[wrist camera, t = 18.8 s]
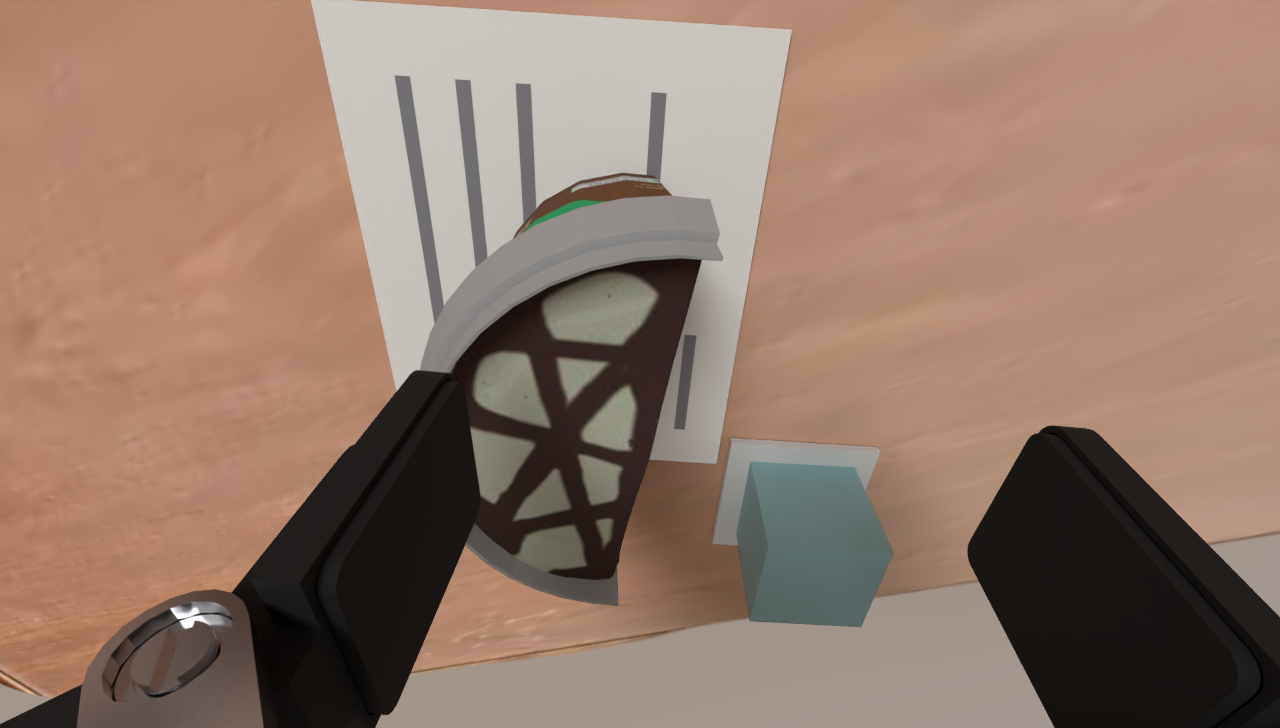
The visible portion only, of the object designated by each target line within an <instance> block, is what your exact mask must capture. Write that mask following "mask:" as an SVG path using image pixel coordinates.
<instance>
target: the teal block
mask: <svg viewBox="0 0 1280 728" xmlns="http://www.w3.org/2000/svg"><path fill="white" fill-rule="evenodd" d="M736 535H737V542H738V548H739V555H740V561H741V568H742V574H743V581H744V587H745V594H746V600H747V607H748V613H749V619H750V621H757V622H776V623H794V624H813V625H814V624H815V625H832V626H850V627H861V626H862V624H863V621H864V619H865V617H866V614H867V612H868V610H869V608H870V605H871V603H872V601H873V598H874V596H875V594H876V592H877V589H878V587H879V585H880V582H881V580H882V578H883V575H884V573H885V571H886V569H887V566H888V564H889V562H890V559H891V557H892V555H893V551H892V549H891V547H890V544H889V542H888V540H887V538H886V535H885V533H884V531H883V529H882V527H881V524H880V522H879V520H878V518H877V515H876V513H875V511H874V509H873V507H872V504H871V502H870V500H869V498H868V496H867V493H866V491H865V489H864V487H863V484H862V482H861V480H860V478H859V476H858V473H857V471H856V469H855V467H844V466H825V465H806V464H787V463H768V462H750V466H749V471H748V476H747V481H746V486H745V491H744V496H743V501H742V506H741V511H740V516H739V521H738V526H737V531H736Z"/></svg>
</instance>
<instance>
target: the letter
mask: <svg viewBox="0 0 1280 728" xmlns="http://www.w3.org/2000/svg"><path fill="white" fill-rule="evenodd" d="M311 3H312V7H313V12H314V16H315V21H316V25H317V30H318V35H319V39H320V44H321V48H322V53H323V57H324V62H325V67H326V71H327V76H328V80H329V85H330V89H331V94H332V99H333V103H334V108H335V112H336V117H337V121H338V126H339V130H340V135H341V140H342V144H343V149H344V153H345V158H346V162H347V167H348V172H349V176H350V181H351V185H352V190H353V194H354V199H355V204H356V208H357V213H358V217H359V222H360V226H361V231H362V235H363V240H364V245H365V249H366V254H367V258H368V263H369V267H370V272H371V277H372V281H373V286H374V290H375V295H376V299H377V304H378V309H379V313H380V318H381V322H382V327H383V331H384V336H385V340H386V345H387V350H388V354H389V359H390V363H391V368H392V372H393V377H394V382H395V386H396V391H397V390H398V389H399V388H400V387H401V385H402V384H403V383H404V382H405V380H406V379H407V378H408V376H409V375H410V374H411V373H412V372H413V371H416V370H420V368H421V362H422V358H423V355H424V352H425V348H426V345H427V342H428V338H429V335H430V332H431V330H432V328H433V326H434V324H435V323H436V321H437V319H438V317H439V315H440V313H441V311H442V310H443V308H444V306H445V304H446V302H447V301H448V299H449V298H450V297H451V296H452V294H453V293H454V292H455V291H456V290H457V288H458V287H459V286H460V285H461V283H462V282H463V281H464V280H465V279H466V277H467V276H468V275H469V274H470V272H471V271H473V270H474V269H475V268H476V267H477V266H478V265H480V264H481V263H482V262H483V261H484V260H485V259H487V258H488V257H489V256H490V255H491V254H493V253H494V252H495V251H496V250H497V249H498V248H500V247H501V246H502V245H504V244H505V243H507V242H509V241H510V240H512V239H513V237H514V235H515V234H516V232H517V230H518V229H519V228H520V227H521V226H522V224H523V223H524V222H525V221H526V220H527V219H528V218H529V217H530V215H531V214H532V213H533V212H534V211H535V210H536V209H537V207H538V206H539V205H540V204H541V203H542V202H543V201H544V200H546V199H548V198H550V197H551V196H553V195H555V194H557V193H559V192H560V191H562V190H564V189H566V188H568V187H569V186H571V185H573V184H575V183H577V182H578V181H581V180H586V179H592V178H597V177H602V176H607V175H613V174H618V173H631V174H641V175H651V176H655V177H656V178H657V179H658V180H659V181H660V182H661V183H662V185H663V186H664V187H665V188H666V189H667V190H668V191H669V192H670V193H671V195H672V196H680V197H690V198H701V199H710V200H711V204H712V207H713V211H714V214H715V217H716V221H717V224H718V228H719V231H720V235H719V239H718V242H717V245H718V247H719V249H720V251H721V253H722V255H723V261H711V260H702V262H701V266H700V269H699V273H698V277H697V280H696V284H695V287H694V291H693V295H692V298H691V302H690V306H689V309H688V313H687V316H686V320H685V323H684V327H683V330H682V334H681V338H680V341H679V345H678V348H677V352H676V355H675V359H674V363H673V366H672V370H671V374H670V378H669V382H668V386H667V390H666V394H665V398H664V401H663V405H662V409H661V413H660V418H659V422H658V426H657V431H656V435H655V439H654V443H653V448H652V452H651V456H650V459H649V460H661V461H677V462H693V463H709V464H717V458H718V452H719V446H720V441H721V435H722V429H723V423H724V418H725V412H726V406H727V400H728V395H729V389H730V383H731V377H732V372H733V366H734V360H735V354H736V349H737V343H738V337H739V331H740V325H741V320H742V314H743V308H744V302H745V297H746V291H747V285H748V279H749V274H750V268H751V262H752V256H753V251H754V245H755V239H756V233H757V228H758V222H759V216H760V210H761V205H762V199H763V193H764V187H765V182H766V176H767V170H768V164H769V159H770V153H771V147H772V141H773V135H774V130H775V124H776V118H777V112H778V107H779V101H780V95H781V89H782V84H783V78H784V72H785V66H786V61H787V55H788V49H789V43H790V38H791V32H792V30H789V29H774V28H758V27H743V26H728V25H713V24H698V23H683V22H668V21H653V20H638V19H623V18H608V17H593V16H578V15H563V14H548V13H533V12H518V11H502V10H487V9H472V8H457V7H442V6H427V5H412V4H397V3H382V2H367V1H352V0H311Z"/></svg>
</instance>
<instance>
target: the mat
mask: <svg viewBox="0 0 1280 728" xmlns="http://www.w3.org/2000/svg"><path fill="white" fill-rule="evenodd" d="M879 455H880V451H879V449H878V448H877V447H866V446H850V445H834V444H818V443H802V442H786V441H770V440H755V439H739V438H731V439H730V444H729V450H728V455H727V461H726V466H725V471H724V477H723V482H722V487H721V493H720V498H719V504H718V509H717V514H716V520H715V525H714V530H713V536H712V542H713V544H719V545H736V546H738V542H737V535H736V531H737V526H738V521H739V516H740V511H741V506H742V501H743V496H744V491H745V486H746V481H747V476H748V471H749V466H750V462H768V463H787V464H806V465H825V466H844V467H855V469H856V471H857V473H858V476H859V478H860V480H861V482H862V484H863V487H864V489H865V491H866V489H867V486H868V484H869V481H870V479H871V476H872V473H873V471H874V468H875V465H876V463H877V460H878V457H879Z"/></svg>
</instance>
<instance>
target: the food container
mask: <svg viewBox="0 0 1280 728" xmlns="http://www.w3.org/2000/svg"><path fill="white" fill-rule="evenodd" d="M719 235H720V231H719V228H718V224H717V221H716V217H715V214H714V211H713V207H712V204H711V200H710V199H701V198H690V197H680V196H672V195H671V193H670V192H669V191H668V190H667V189H666V188H665V187H664V186H663V185H662V183H661V182H660V181H659V180H658V179H657V178H656V177H655V176H651V175H641V174H631V173H618V174H613V175H607V176H602V177H597V178H592V179H586V180H581V181H578V182H577V183H575V184H573V185H571V186H569V187H568V188H566V189H564V190H562V191H560V192H559V193H557V194H555V195H553V196H551V197H550V198H548V199H546V200H544V201H543V202H542V203H541V204H540V205H539V206H538V207H537V209H536V210H535V211H534V212H533V213H532V214H531V215H530V217H529V218H528V219H527V220H526V221H525V222H524V223H523V224H522V226H521V227H520V228H519V229H518V230H517V232H516V234H515V235H514V237H513V239H512V240H510V241H509V242H507V243H505V244H504V245H502V246H501V247H500V248H498V249H497V250H496V251H495V252H494V253H493V254H491V255H490V256H489V257H488V258H487V259H485V260H484V261H483V262H482V263H481V264H480V265H478V266H477V267H476V268H475V269H474V270H473V271H471V272H470V274H469V275H468V276H467V277H466V279H465V280H464V281H463V282H462V283H461V285H460V286H459V287H458V288H457V290H456V291H455V292H454V293H453V294H452V296H451V297H450V298H449V299H448V301H447V302H446V304H445V306H444V308H443V310H442V311H441V313H440V315H439V317H438V319H437V321H436V323H435V324H434V326H433V328H432V330H431V332H430V335H429V338H428V342H427V345H426V348H425V352H424V355H423V358H422V362H421V368H420V370H423V371H434V372H446V373H450V374H452V376H453V378H454V381H455V382H460V383H462V384H463V386H464V389H465V395H466V402H467V408H468V415H469V422H470V428H471V435H472V442H473V448H474V455H475V461H476V468H477V475H478V481H479V488H480V496H481V501H480V509H479V513H478V516H477V518H476V521H475V523H474V525H473V528H472V530H471V532H470V535H469V537H468V539H467V542H466V544H465V546H466V547H467V548H468V549H470V550H471V551H472V552H473V553H474V554H476V555H477V556H478V557H479V558H480V559H482V560H483V561H484V562H485V563H487V564H488V565H489V566H491V567H493V568H494V569H496V570H498V571H499V572H501V573H503V574H504V575H506V576H508V577H509V578H511V579H513V580H515V581H518V582H520V583H522V584H524V585H527V586H529V587H531V588H533V589H536V590H538V591H542V592H545V593H548V594H551V595H555V596H558V597H561V598H565V599H570V600H576V601H581V602H587V603H592V604H603V605H614V606H618V581H617V564H618V562H619V553H620V549H621V545H622V541H623V538H624V534H625V531H626V527H627V524H628V521H629V517H630V514H631V511H632V508H633V505H634V502H635V499H636V495H637V492H638V490H639V487H640V484H641V482H642V479H643V476H644V473H645V470H646V467H647V464H648V462H649V459H650V456H651V452H652V448H653V443H654V439H655V435H656V431H657V426H658V422H659V418H660V413H661V409H662V405H663V401H664V398H665V394H666V390H667V386H668V382H669V378H670V374H671V370H672V366H673V363H674V359H675V355H676V352H677V348H678V345H679V341H680V338H681V334H682V330H683V327H684V323H685V320H686V316H687V313H688V309H689V306H690V302H691V298H692V295H693V291H694V287H695V284H696V280H697V277H698V273H699V269H700V266H701V262H702V260H711V261H723V255H722V253H721V251H720V249H719V247H718V245H717V242H718V239H719Z"/></svg>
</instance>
